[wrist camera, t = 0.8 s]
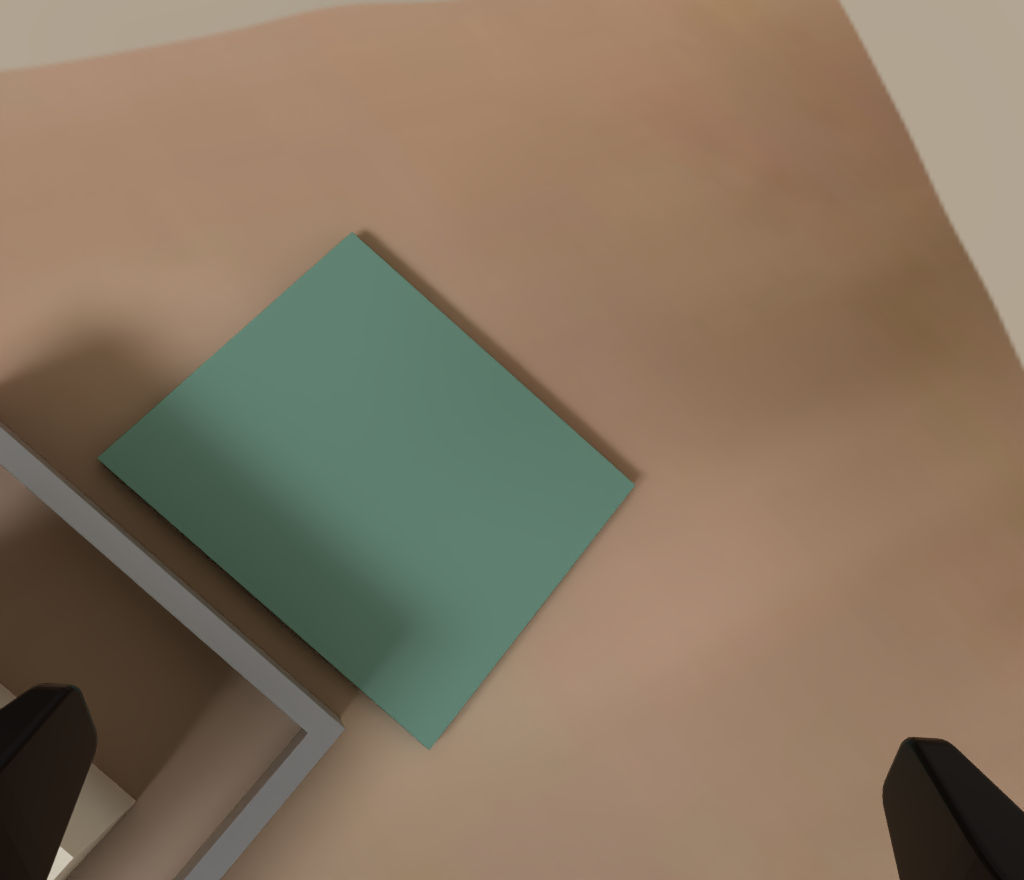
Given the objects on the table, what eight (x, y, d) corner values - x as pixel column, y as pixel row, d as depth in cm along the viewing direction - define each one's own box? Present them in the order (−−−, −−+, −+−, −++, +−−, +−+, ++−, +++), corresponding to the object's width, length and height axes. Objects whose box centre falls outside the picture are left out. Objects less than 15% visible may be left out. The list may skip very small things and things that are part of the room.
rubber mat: (427, 748, 22) (429, 750, 21) (100, 461, 22) (96, 458, 21) (630, 487, 25) (635, 484, 25) (351, 238, 25) (351, 232, 25)
